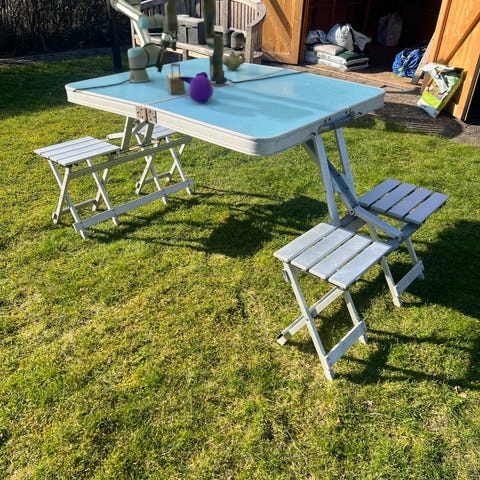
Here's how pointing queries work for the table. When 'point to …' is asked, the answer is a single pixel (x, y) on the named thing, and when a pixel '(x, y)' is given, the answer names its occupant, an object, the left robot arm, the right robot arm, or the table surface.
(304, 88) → the table surface
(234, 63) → the teapot
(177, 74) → the lid
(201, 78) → the toy
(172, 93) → the chest
